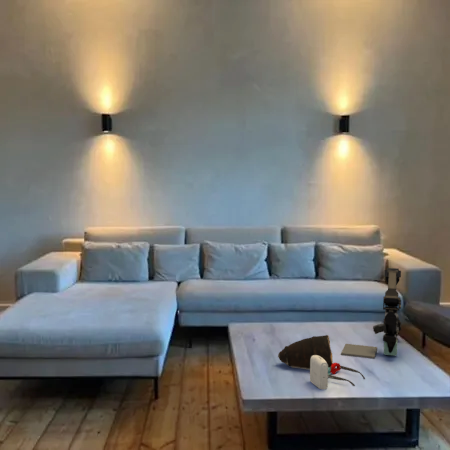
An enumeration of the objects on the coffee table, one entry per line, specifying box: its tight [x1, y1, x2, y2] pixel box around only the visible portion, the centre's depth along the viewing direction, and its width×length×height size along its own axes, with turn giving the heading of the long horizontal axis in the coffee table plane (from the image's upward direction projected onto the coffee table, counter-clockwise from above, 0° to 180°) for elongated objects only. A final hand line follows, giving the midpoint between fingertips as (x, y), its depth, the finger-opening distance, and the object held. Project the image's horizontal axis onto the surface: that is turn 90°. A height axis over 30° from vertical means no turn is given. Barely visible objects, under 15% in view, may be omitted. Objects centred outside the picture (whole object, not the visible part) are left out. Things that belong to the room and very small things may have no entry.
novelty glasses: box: [328, 362, 366, 387], centre depth 227 cm, size 14×15×5 cm
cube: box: [383, 341, 398, 357], centre depth 257 cm, size 6×6×6 cm
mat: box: [340, 343, 378, 360], centre depth 263 cm, size 16×16×1 cm
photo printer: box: [309, 355, 329, 390], centre depth 220 cm, size 10×4×12 cm, turn 17°
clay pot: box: [277, 334, 334, 371], centre depth 242 cm, size 15×15×25 cm
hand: (390, 350), depth 258 cm, fingers closed on cube, 6 cm apart
